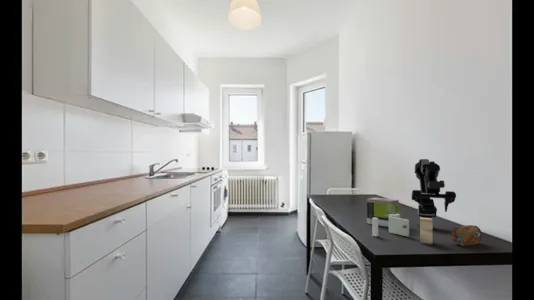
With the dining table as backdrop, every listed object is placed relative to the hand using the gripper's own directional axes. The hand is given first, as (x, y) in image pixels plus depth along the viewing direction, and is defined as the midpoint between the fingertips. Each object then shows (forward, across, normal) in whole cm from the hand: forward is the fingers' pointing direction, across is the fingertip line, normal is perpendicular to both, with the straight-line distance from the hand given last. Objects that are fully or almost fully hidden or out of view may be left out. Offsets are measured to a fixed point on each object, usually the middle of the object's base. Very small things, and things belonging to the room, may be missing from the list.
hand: (435, 211), depth 143 cm
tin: (+12, +12, +7) cm, 19 cm away
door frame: (+7, -21, +13) cm, 26 cm away
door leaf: (+8, -16, +11) cm, 21 cm away
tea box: (-6, -23, +28) cm, 37 cm away
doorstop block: (+15, -5, +4) cm, 16 cm away
